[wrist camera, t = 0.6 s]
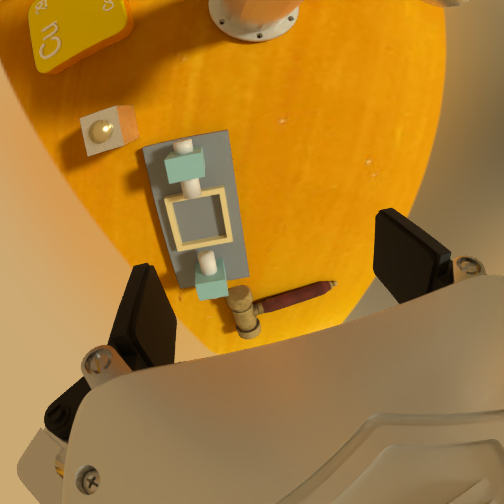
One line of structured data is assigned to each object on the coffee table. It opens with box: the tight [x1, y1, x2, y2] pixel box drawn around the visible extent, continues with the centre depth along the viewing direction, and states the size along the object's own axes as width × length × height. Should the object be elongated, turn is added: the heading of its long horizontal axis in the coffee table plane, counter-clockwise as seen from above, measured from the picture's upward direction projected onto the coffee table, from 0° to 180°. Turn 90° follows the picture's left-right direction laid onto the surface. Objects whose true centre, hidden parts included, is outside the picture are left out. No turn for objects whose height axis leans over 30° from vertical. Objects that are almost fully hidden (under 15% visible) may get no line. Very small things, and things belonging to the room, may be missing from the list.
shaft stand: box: [142, 130, 249, 301], centre depth 39 cm, size 24×12×8 cm, turn 7°
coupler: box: [80, 105, 139, 156], centre depth 30 cm, size 5×5×9 cm
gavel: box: [225, 281, 337, 339], centre depth 52 cm, size 21×5×10 cm
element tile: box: [28, 0, 134, 74], centre depth 22 cm, size 15×15×5 cm
